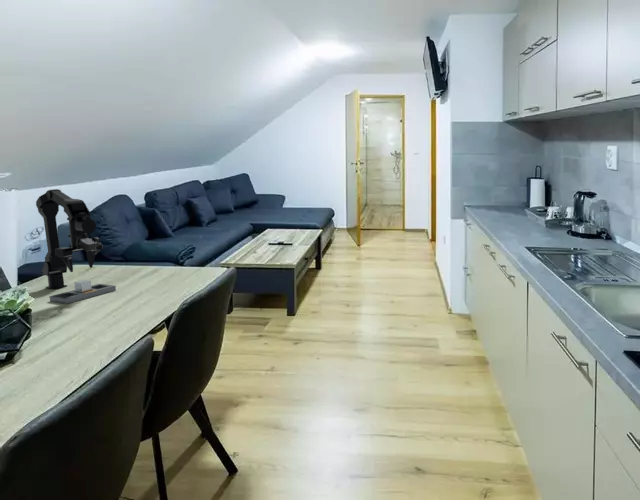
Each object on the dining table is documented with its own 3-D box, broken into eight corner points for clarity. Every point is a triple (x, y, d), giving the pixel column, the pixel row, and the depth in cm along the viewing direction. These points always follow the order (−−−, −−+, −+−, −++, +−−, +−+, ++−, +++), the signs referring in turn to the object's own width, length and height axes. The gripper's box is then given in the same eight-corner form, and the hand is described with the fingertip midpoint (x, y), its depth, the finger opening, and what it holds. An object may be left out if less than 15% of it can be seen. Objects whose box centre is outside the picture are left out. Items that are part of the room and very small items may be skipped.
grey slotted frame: (50, 301, 233) (49, 296, 233) (100, 288, 253) (99, 283, 253) (66, 304, 228) (65, 298, 228) (115, 290, 248) (115, 285, 248)
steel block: (75, 296, 240) (74, 282, 239) (85, 294, 244) (83, 279, 243) (82, 297, 238) (81, 283, 237) (92, 295, 242) (90, 280, 241)
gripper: (70, 236, 224) (74, 276, 227) (110, 229, 240) (113, 267, 243) (52, 234, 230) (56, 273, 233) (92, 228, 246) (95, 264, 248)
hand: (81, 269), depth 239 cm, fingers open, 9 cm apart
